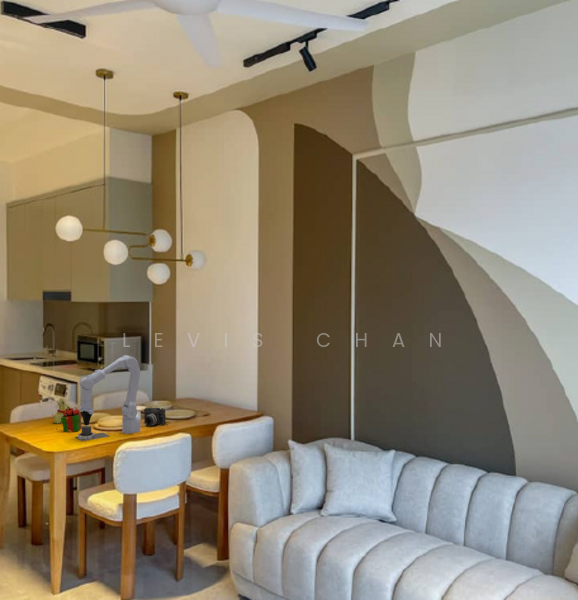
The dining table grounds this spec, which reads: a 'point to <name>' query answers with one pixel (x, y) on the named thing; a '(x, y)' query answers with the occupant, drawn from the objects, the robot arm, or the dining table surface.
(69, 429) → the gift wrap
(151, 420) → the camera
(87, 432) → the dark grey block
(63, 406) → the chocolate bunny
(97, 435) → the lens mount
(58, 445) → the dining table surface
